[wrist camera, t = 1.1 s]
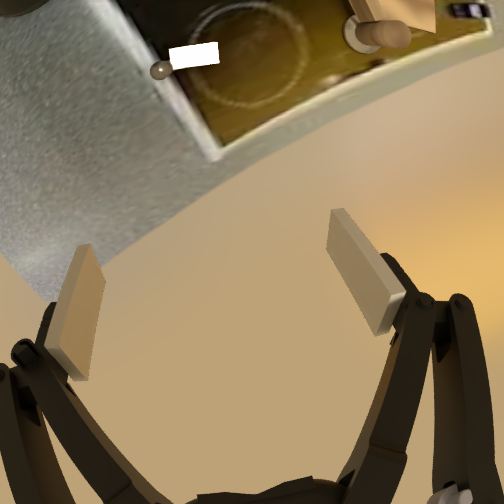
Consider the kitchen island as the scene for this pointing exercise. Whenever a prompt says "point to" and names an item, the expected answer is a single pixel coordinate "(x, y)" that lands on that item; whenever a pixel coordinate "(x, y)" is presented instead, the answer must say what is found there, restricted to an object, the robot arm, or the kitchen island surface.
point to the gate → (378, 26)
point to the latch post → (185, 59)
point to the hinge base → (351, 38)
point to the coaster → (411, 13)
